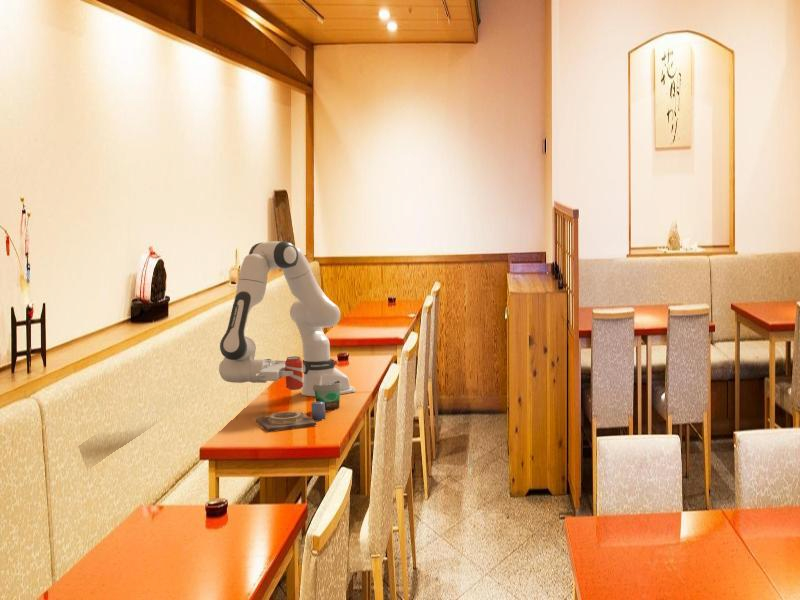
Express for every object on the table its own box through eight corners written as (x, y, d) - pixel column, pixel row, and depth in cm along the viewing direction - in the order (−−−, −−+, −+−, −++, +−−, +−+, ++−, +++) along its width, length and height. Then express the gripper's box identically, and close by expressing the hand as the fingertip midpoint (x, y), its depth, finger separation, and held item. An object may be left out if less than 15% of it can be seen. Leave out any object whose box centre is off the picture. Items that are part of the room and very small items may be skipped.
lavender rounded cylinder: (322, 416, 375) (322, 400, 374) (327, 419, 371) (326, 403, 370) (310, 418, 373) (309, 402, 373) (314, 421, 369) (313, 405, 368)
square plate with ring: (302, 415, 378) (301, 407, 377) (316, 425, 361) (316, 417, 361) (255, 421, 371) (254, 412, 371) (267, 431, 354) (267, 423, 354)
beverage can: (306, 388, 381) (305, 357, 380) (294, 391, 377) (292, 359, 375) (295, 386, 385) (294, 355, 384) (283, 389, 381) (281, 358, 379)
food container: (323, 413, 381) (321, 387, 380) (313, 410, 386) (312, 384, 385) (349, 407, 389) (348, 382, 388) (339, 405, 394) (338, 380, 392)
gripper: (252, 368, 372) (288, 368, 369) (268, 358, 392) (302, 357, 389) (253, 385, 373) (289, 385, 370) (269, 373, 393) (303, 373, 390)
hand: (296, 371), depth 380 cm, fingers closed on beverage can, 6 cm apart
